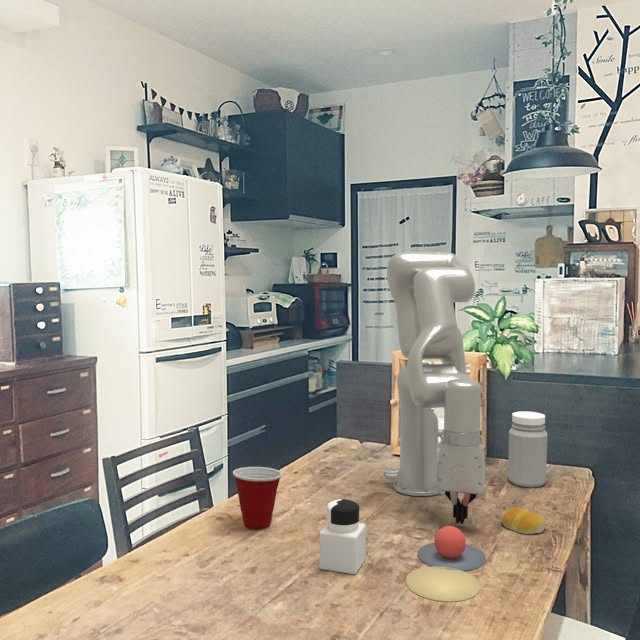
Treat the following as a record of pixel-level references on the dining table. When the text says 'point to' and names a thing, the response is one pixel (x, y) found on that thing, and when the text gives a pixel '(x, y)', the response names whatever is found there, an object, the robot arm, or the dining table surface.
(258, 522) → the plastic cup
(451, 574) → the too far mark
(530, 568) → the dining table surface
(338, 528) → the medicine bottle
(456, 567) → the smooth gray rounded object
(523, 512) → the bread roll
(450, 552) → the ball
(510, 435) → the jar
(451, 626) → the dining table surface
